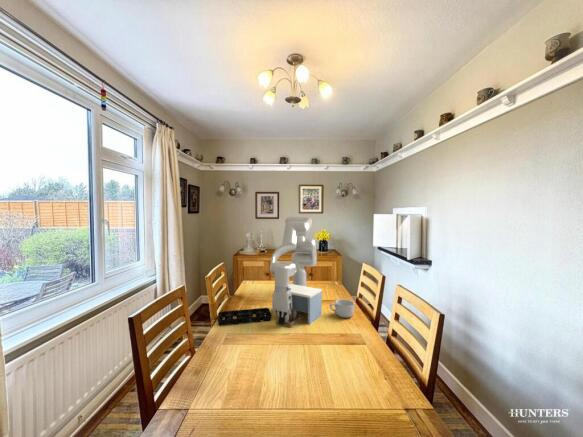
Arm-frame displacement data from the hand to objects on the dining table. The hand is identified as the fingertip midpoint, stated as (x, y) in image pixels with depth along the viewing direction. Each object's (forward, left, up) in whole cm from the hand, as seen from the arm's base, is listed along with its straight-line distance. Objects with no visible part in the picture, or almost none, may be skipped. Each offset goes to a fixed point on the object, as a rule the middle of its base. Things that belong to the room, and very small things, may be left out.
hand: (281, 323), depth 137 cm
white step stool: (-18, 0, -2) cm, 18 cm away
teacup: (-31, +21, -2) cm, 37 cm away
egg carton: (+3, -23, -2) cm, 23 cm away
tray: (-8, 0, -2) cm, 8 cm away
